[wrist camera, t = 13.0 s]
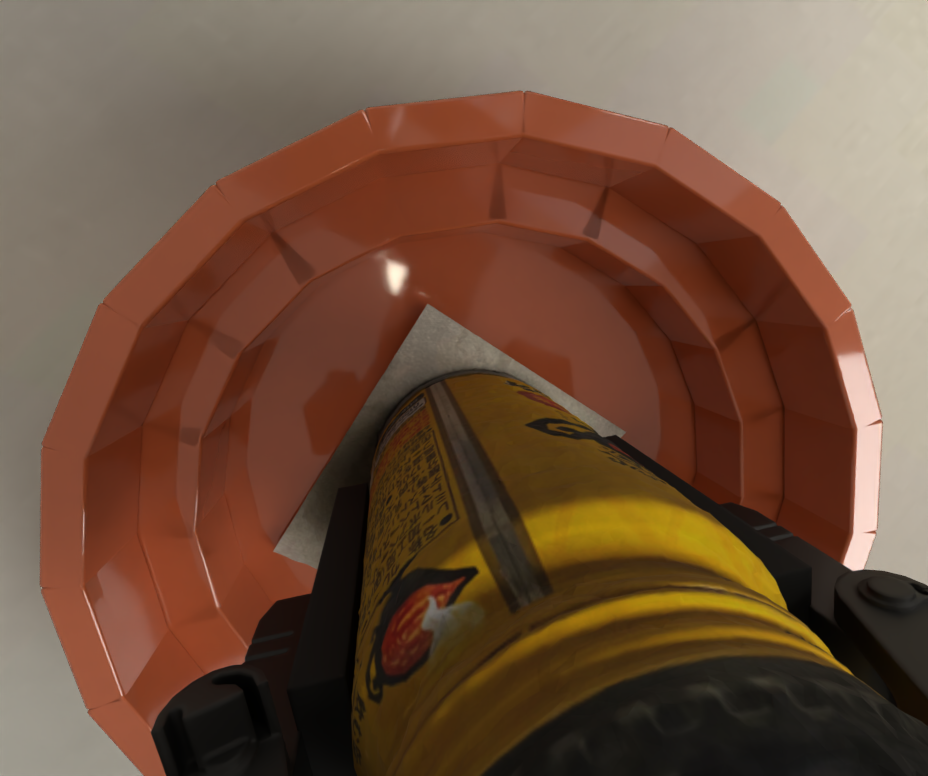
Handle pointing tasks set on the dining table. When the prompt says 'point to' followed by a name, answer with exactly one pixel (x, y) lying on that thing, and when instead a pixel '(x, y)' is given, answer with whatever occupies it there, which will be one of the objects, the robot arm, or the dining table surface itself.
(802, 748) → the condiment
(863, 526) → the bowl
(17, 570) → the dining table surface
